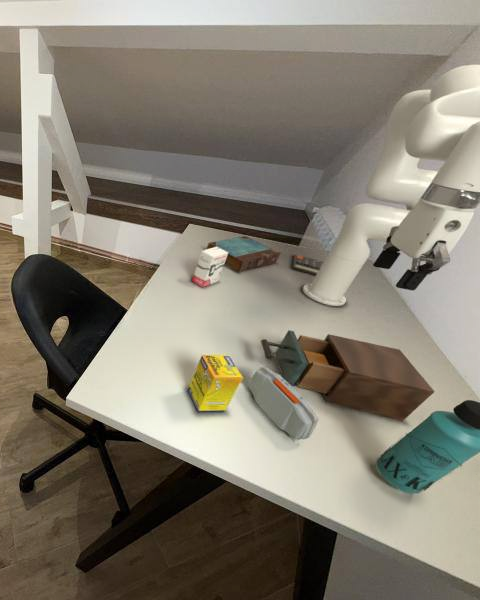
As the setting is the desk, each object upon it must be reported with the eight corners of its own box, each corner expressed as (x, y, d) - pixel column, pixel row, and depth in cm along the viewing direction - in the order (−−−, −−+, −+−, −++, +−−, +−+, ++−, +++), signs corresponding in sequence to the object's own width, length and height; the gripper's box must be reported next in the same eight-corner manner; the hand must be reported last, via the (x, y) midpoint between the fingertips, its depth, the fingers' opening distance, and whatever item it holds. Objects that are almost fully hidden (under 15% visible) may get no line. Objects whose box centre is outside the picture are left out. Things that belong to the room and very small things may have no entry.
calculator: (326, 262, 129) (327, 276, 118) (325, 264, 129) (326, 278, 119) (295, 253, 134) (293, 266, 123) (294, 255, 134) (292, 268, 123)
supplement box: (186, 390, 68) (201, 354, 62) (212, 389, 69) (229, 354, 63) (197, 413, 63) (213, 377, 57) (224, 413, 64) (244, 376, 58)
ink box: (202, 287, 106) (213, 256, 99) (191, 281, 109) (201, 250, 103) (218, 282, 110) (229, 251, 103) (206, 275, 113) (216, 246, 107)
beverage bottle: (367, 454, 58) (446, 383, 47) (413, 476, 56) (508, 406, 44) (370, 483, 54) (458, 412, 43) (420, 509, 51) (528, 440, 40)
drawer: (259, 380, 71) (274, 355, 67) (251, 348, 80) (264, 324, 76) (353, 403, 67) (374, 379, 63) (333, 367, 76) (351, 343, 72)
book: (238, 273, 117) (243, 261, 114) (203, 253, 130) (207, 242, 127) (276, 263, 126) (281, 252, 124) (240, 246, 139) (244, 235, 136)
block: (294, 363, 75) (303, 349, 73) (314, 368, 74) (324, 354, 72) (299, 376, 72) (308, 362, 69) (320, 381, 71) (331, 367, 68)
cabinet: (325, 402, 68) (350, 371, 63) (308, 362, 78) (328, 334, 73) (402, 421, 65) (435, 391, 60) (374, 378, 76) (399, 349, 70)
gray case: (305, 443, 59) (327, 418, 55) (293, 447, 59) (314, 421, 54) (251, 385, 71) (266, 360, 66) (241, 387, 70) (255, 362, 65)
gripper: (515, 214, 50) (438, 302, 59) (444, 189, 64) (391, 263, 73) (458, 207, 51) (392, 293, 61) (401, 184, 65) (355, 257, 75)
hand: (391, 277), depth 67 cm, fingers open, 9 cm apart
